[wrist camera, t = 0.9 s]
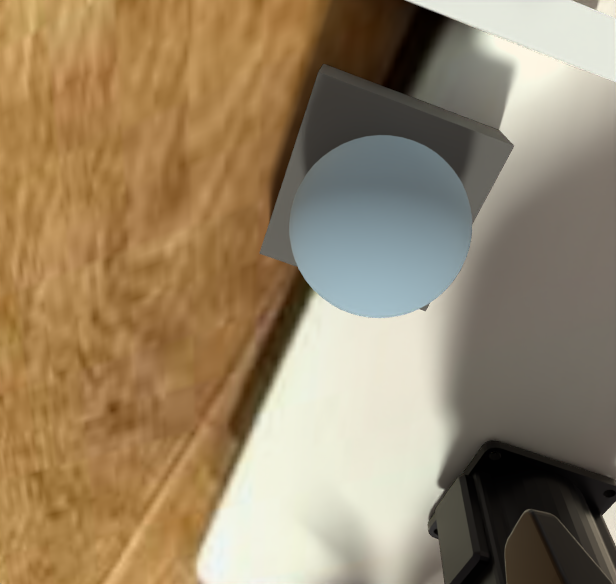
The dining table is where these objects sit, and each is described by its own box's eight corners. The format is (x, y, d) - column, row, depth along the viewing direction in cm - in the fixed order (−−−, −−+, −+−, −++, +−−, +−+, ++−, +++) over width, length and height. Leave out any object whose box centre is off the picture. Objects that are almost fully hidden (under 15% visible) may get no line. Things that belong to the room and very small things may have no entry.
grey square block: (499, 130, 17) (514, 146, 16) (420, 283, 20) (425, 311, 18) (323, 63, 17) (318, 71, 15) (269, 230, 20) (259, 253, 18)
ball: (486, 151, 16) (530, 210, 12) (417, 287, 19) (432, 377, 14) (330, 92, 16) (316, 131, 11) (280, 239, 18) (252, 317, 14)
